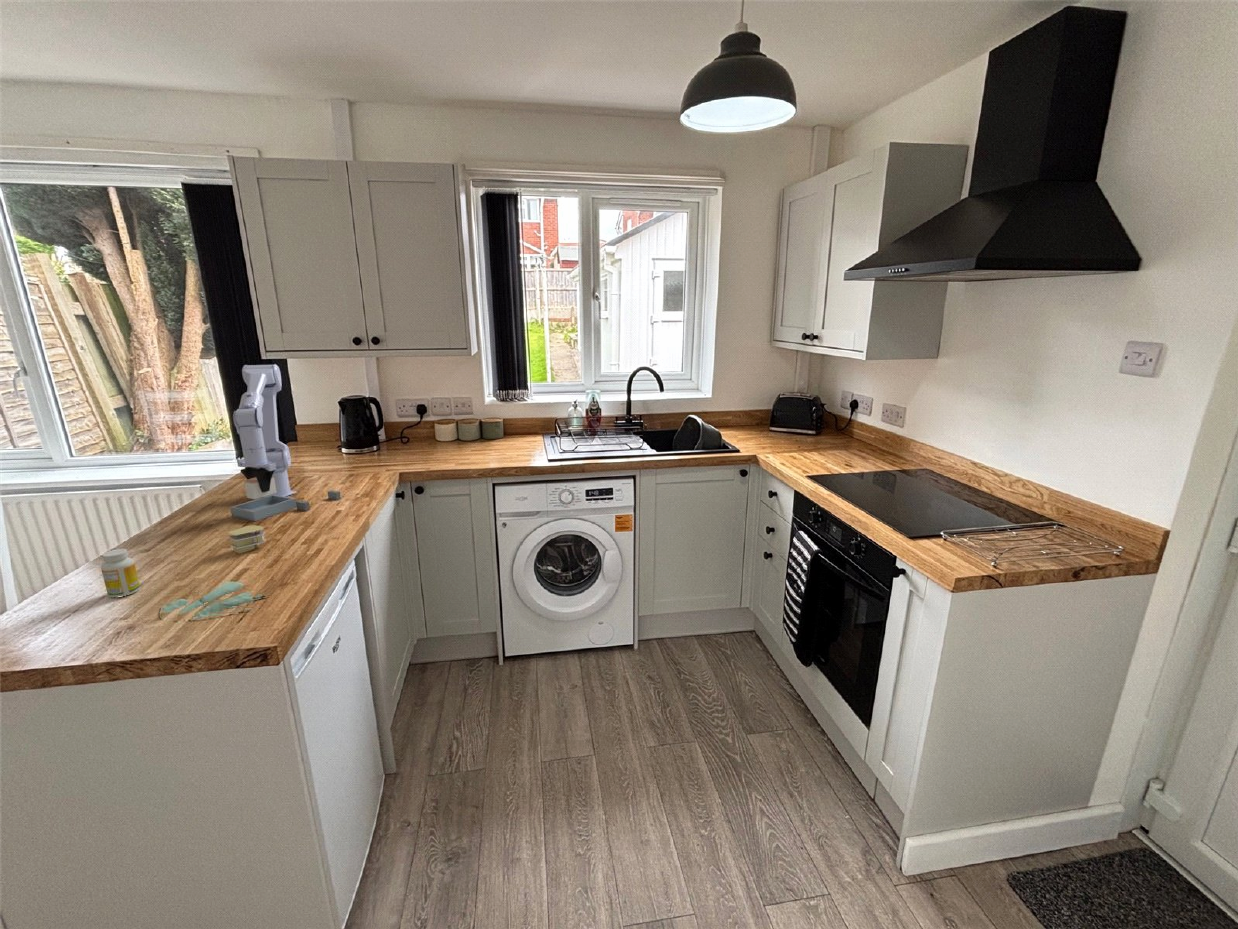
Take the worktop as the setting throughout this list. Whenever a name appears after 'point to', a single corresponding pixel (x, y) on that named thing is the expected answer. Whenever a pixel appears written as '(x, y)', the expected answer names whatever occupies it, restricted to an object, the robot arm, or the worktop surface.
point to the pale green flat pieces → (214, 606)
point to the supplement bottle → (119, 573)
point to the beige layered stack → (247, 538)
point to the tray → (263, 507)
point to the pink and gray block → (258, 488)
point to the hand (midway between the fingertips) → (261, 490)
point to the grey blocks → (305, 505)
